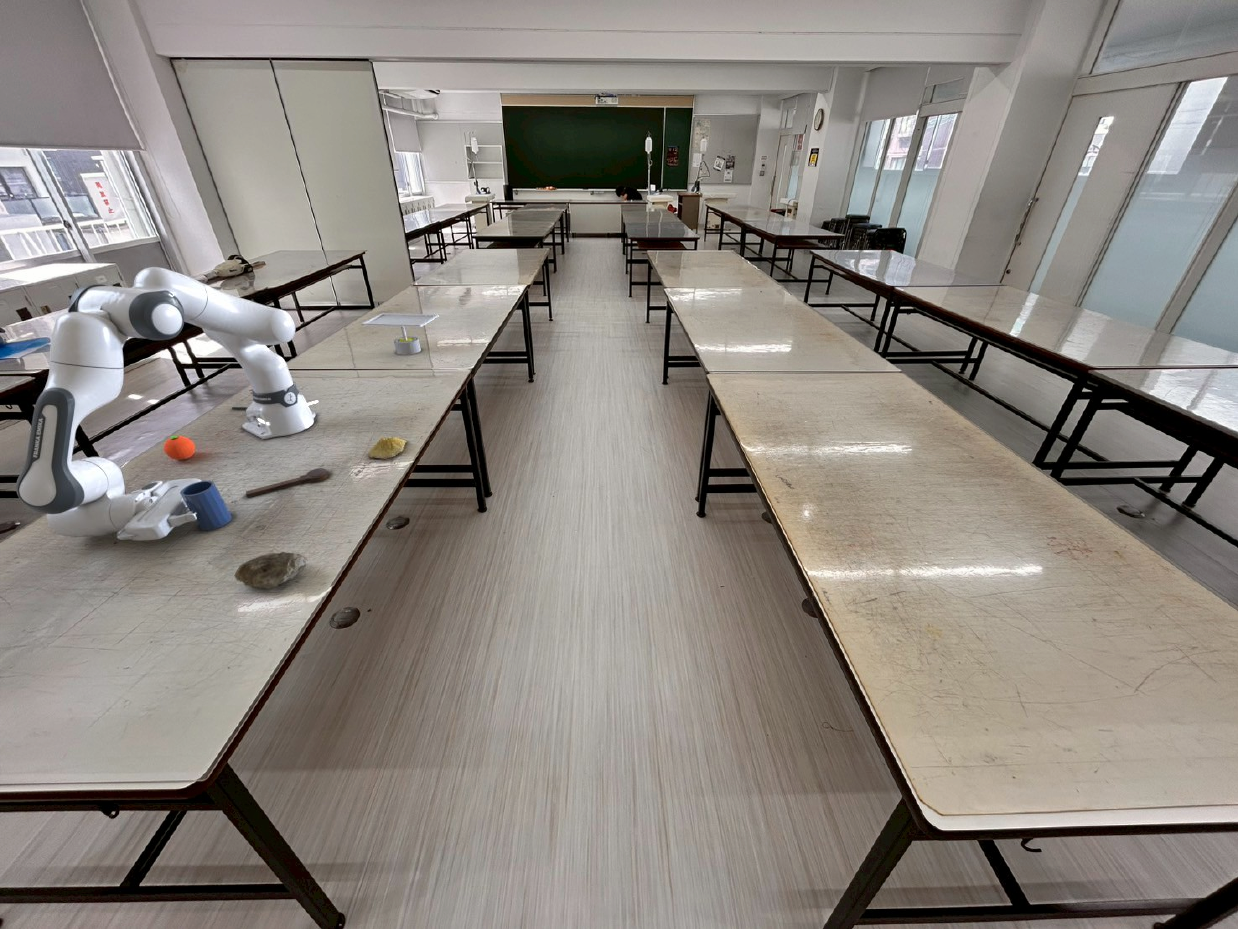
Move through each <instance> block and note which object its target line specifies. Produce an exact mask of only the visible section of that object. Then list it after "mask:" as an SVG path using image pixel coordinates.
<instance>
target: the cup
mask: <svg viewBox="0 0 1238 929" xmlns="http://www.w3.org/2000/svg"><path fill="white" fill-rule="evenodd" d="M180 494H181V496H182V498H183V499H184V501H185V503H186V505H187V506H188V508H189V510H188V511H189V512H190V511H191V512H192V511H196V512H197V513H198V515H199V517H198V518H197V519H196V520H195V522H196V523H197V525H198V527H199V528H200V529H201V530H202V531H213V530H216V529H219V528H221V527H224V526H226V525H227V524H228V523H230V522H231V520H232V519H233V516H232V514H231V512H230V510H229V508H228V506H227V505H226V502H225V501H224V499H223V497H222V495H221V493H220V491H219V489H218V488H217V486H216V484H215V482H214V481H213V480H201V481H200V482H196V483H193V484H190V485H188V486H186V487H185V488H184V489H182V490H181V492H180Z"/></svg>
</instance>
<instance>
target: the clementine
mask: <svg viewBox="0 0 1238 929" xmlns="http://www.w3.org/2000/svg"><path fill="white" fill-rule="evenodd" d="M163 451H164V453H165V454H166V456H167V457H169V458H170V459H173V460H175V461H176V460H177V461H182V460H187V459H189V458H191V457H193V455H194V453H195V451H196V446H195V443H194V441H193V440H191V439H190V438H188V437H186V436H183V435H182V436H181V435H173V436H170V438H168V439H167V440H166V441H165V442H164V444H163Z"/></svg>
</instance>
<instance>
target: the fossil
mask: <svg viewBox="0 0 1238 929" xmlns="http://www.w3.org/2000/svg"><path fill="white" fill-rule="evenodd" d="M406 444H407V440H405V439H402V438H398V437H397V436H393V437H390V436H389V437H382V438H379V440H378V441H377V442H376V444H374V445H373V446H372V447H371V448H370V450H369V451H368V456H369V458H371V459H382V460H386V459H390V458H393V457H395V456H396V455H398V454H400V453H402V452H403V451H404V448H405V445H406Z"/></svg>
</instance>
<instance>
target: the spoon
mask: <svg viewBox="0 0 1238 929" xmlns="http://www.w3.org/2000/svg"><path fill="white" fill-rule="evenodd" d="M328 476H329V473H328V471H327V469H326V468H323V467H319V468H314V469H311V470H309V471H308V472H306V474H304V475H300V476H298V477H295V478H292V479H288V480H284V481H281V482H276V483H273V484H269V485H265V486H262V487H257V488H254V489H250V490H246V491H245V496H246V497H247V498H252V497H255V496H259V495H262V494H266V493H271V492H273V491H277V490H282V489H285V488H290V487H293V486H296V485H300V484H306V483H319V482H321V481H324V480H326V479H327V478H328Z"/></svg>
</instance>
